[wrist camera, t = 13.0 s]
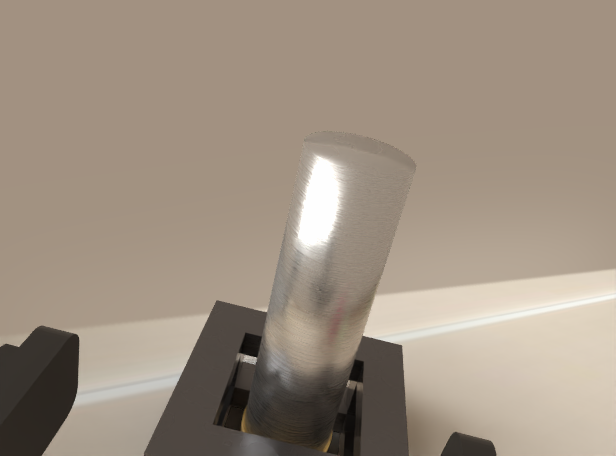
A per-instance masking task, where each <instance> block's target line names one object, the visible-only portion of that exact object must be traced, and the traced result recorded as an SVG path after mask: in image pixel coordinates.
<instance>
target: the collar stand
mask: <svg viewBox="0 0 616 456" xmlns="http://www.w3.org/2000/svg"><path fill="white" fill-rule="evenodd" d="M266 316H267V313H266V312H262V311H258V310H254V309H250V308H246V307H242V306H237V305H233V304H230V303H225V302H221V301H216V303H215V305H214V307H213V309H212V311H211V313H210V316H209V318H208V320H207V322H206V324H205V326H204V328H203V330H202V332H201V334H200V337H199V339H198V341H197V343H196V345H195V347H194V349H193V351H192V353H191V356H190V358H189V360H188V362H187V364H186V366H185V368H184V370H183V372H182V375H181V377H180V379H179V381H178V383H177V385H176V387H175V389H174V391H173V393H172V396H171V398H170V400H169V402H168V404H167V406H166V408H165V410H164V412H163V415H162V417H161V419H160V421H159V423H158V425H157V427H156V429H155V431H154V434H153V436H152V438H151V440H150V442H149V444H148V446H147V448H146V450H145V453H144V456H409V455H408V438H407V421H406V404H405V387H404V370H403V353H402V345H398V344H394V343H390V342H385V341H381V340H377V339H373V338H369V337H365V336H362V339H361V342H360V345H359V348H358V351H357V354H356V357H355V360H354V364H353V367H352V370H351V373H350V376H349V379H348V380H351V381H350V384H349V387H346V389H345V392H344V395H343V398H342V401H341V404H340V407H339V410H338V413H337V417H336V420H335V423H334V426H333V431H336V432H340V443H339V455H335V454H331V453H327V452H323V451H319V450H315V449H310V448H306V447H302V446H298V445H294V444H290V443H286V442H282V441H278V440H274V439H270V438H266V437H262V436H258V435H254V434H249V433H245V432H241V431H237V430H233V429H229V428H225V427H224V425H225V422H226V419H227V416H228V413H229V410H230V407H231V406H234V407H238V408H242V409H245V408H246V406H247V404H248V399H249V395H250V390H251V385H252V381H253V376H254V371H255V367H256V365H254V364H250V363H245V362H243V360H244V355H249V356H253V357H257V358H258V353H259V348H260V344H261V339H262V334H263V330H264V325H265V320H266Z"/></svg>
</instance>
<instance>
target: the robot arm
mask: <svg viewBox="0 0 616 456" xmlns="http://www.w3.org/2000/svg"><path fill="white" fill-rule="evenodd" d="M78 365H79V337H78V335H77V334H73V333H69V332H65V331H61V330H57V329H53V328H49V327H45V326H39V327H38V328H36V329H35V330H34V331H33V332H32V333H31V334H30V336H29V337H28V338H27V339H26V340H25V341H24V342H23V343H22V344H21V346H20V347H16V346H12V345H9V344H5V345H3V346H1V347H0V456H42V454H43V453H44V451H45V450H46V448H47V447H48V445H49V444H50V442H51V441H52V439H53V438H54V436H55V435H56V433H57V432H58V430H59V429H60V427H61V425H62V424H63V422H64V421H65V419H66V418H67V416H68V414H69V413H70V410H71V408H72V406H73V403H74V401H75V397H76V394H77V388H78ZM441 456H496V451H495V448H494V445H493V443H492V442H491V441H489V440H485V439H481V438H477V437H473V436H469V435H465V434H461V433H457V432H454V433H453V434H452V435H451V436H450V438H449V440H448V442H447V444H446V446H445V448H444V450H443V452H442V454H441Z"/></svg>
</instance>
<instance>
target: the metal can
mask: <svg viewBox="0 0 616 456" xmlns="http://www.w3.org/2000/svg"><path fill="white" fill-rule="evenodd" d="M415 170H416V164H415V162H414V161H413V159H411V157H409V156H408V155H407V154H405V153H404V152H402V151H401V150H399V149H397V148H395V147H393V146H391V145H389V144H386V143H384V142H381V141H378V140H375V139H372V138H369V137H364V136H360V135H356V134H351V133H344V132H332V131H323V132H315V133H312V134H310V135H308V136H306V137H305V139H304V144H303V148H302V153H301V157H300V162H299V167H298V172H297V176H296V181H295V186H294V190H293V195H292V199H291V204H290V209H289V213H288V218H287V223H286V227H285V232H284V237H283V241H282V246H281V251H280V255H279V260H278V265H277V269H276V274H275V279H274V283H273V288H272V293H271V297H270V302H269V306H268V311H267V316H266V320H265V325H264V330H263V334H262V339H261V344H260V348H259V353H258V358H257V362H256V367H255V371H254V376H253V381H252V385H251V390H250V395H249V399H248V404H247V406H246V408H245V410H244V413H243V418H242V423H241V427H240V431H241V432H245V433H249V434H254V435H258V436H262V437H266V438H270V439H274V440H278V441H282V442H286V443H290V444H294V445H298V446H302V447H306V448H310V449H315V450H319V451H323V452H327V451H328V448H329V445H330V442H331V439H332V434H333V426H334V423H335V420H336V417H337V413H338V410H339V407H340V404H341V401H342V398H343V395H344V392H345V389H346V385H347V382H348V379H349V376H350V373H351V370H352V367H353V364H354V360H355V357H356V354H357V351H358V348H359V345H360V342H361V339H362V335H363V332H364V329H365V326H366V323H367V320H368V317H369V314H370V310H371V307H372V304H373V301H374V298H375V295H376V292H377V288H378V285H379V282H380V279H381V276H382V273H383V270H384V267H385V264H386V260H387V257H388V254H389V251H390V248H391V245H392V242H393V239H394V236H395V232H396V229H397V226H398V223H399V220H400V217H401V214H402V210H403V207H404V204H405V201H406V198H407V195H408V192H409V189H410V186H411V182H412V179H413V176H414V173H415Z"/></svg>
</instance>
